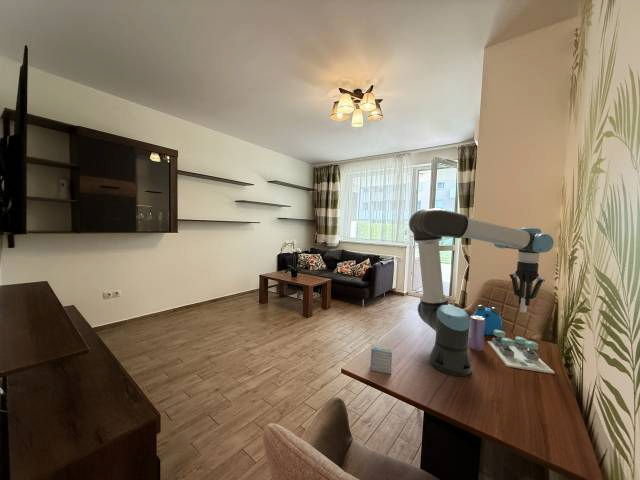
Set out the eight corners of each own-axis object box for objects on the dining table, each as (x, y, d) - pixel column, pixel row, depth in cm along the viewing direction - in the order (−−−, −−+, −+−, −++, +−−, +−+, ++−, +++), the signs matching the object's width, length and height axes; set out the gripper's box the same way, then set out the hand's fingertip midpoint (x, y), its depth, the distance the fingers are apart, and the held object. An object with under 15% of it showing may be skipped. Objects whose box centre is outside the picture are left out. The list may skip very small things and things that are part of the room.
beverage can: (484, 352, 115) (487, 320, 114) (470, 350, 116) (473, 319, 115) (479, 346, 121) (481, 315, 120) (465, 344, 122) (468, 314, 121)
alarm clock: (500, 334, 134) (503, 307, 133) (500, 338, 129) (502, 310, 128) (472, 328, 142) (474, 302, 141) (471, 331, 137) (473, 304, 136)
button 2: (527, 353, 108) (528, 344, 108) (522, 348, 113) (523, 340, 112) (539, 355, 107) (540, 346, 107) (534, 350, 112) (535, 341, 111)
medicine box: (391, 368, 100) (392, 347, 100) (391, 374, 96) (392, 352, 95) (371, 364, 102) (371, 344, 102) (370, 370, 98) (371, 349, 98)
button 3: (495, 341, 120) (495, 332, 119) (491, 337, 124) (492, 329, 123) (506, 342, 118) (506, 334, 118) (502, 338, 123) (502, 330, 122)
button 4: (517, 348, 117) (517, 339, 117) (512, 343, 122) (513, 335, 121) (528, 349, 116) (529, 341, 116) (523, 345, 120) (524, 337, 120)
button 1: (503, 350, 111) (504, 341, 111) (499, 345, 115) (499, 337, 115) (515, 351, 110) (515, 342, 109) (510, 347, 114) (511, 338, 114)
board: (507, 366, 104) (507, 359, 104) (487, 342, 125) (488, 336, 125) (554, 373, 100) (554, 366, 99) (525, 347, 121) (526, 341, 121)
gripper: (549, 263, 112) (544, 315, 114) (515, 259, 123) (511, 306, 125) (542, 264, 108) (536, 317, 110) (507, 259, 120) (503, 308, 121)
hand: (523, 311), depth 117 cm, fingers closed
